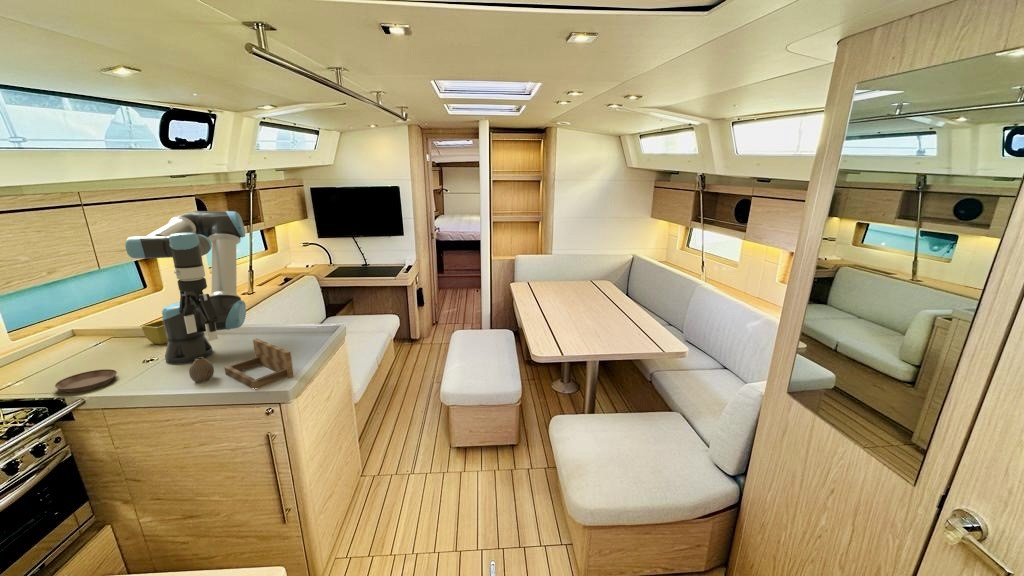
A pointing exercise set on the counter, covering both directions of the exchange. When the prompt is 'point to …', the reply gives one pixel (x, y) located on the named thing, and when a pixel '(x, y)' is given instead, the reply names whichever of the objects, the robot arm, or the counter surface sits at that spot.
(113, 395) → the counter surface
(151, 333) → the flower pot
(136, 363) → the counter surface
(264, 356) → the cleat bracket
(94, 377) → the saucer
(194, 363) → the vase
